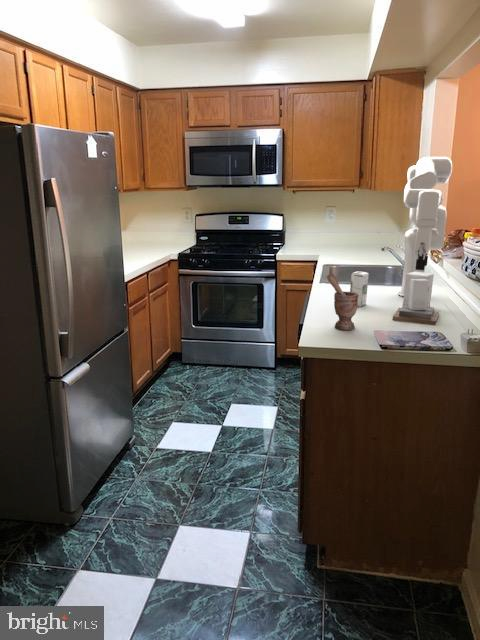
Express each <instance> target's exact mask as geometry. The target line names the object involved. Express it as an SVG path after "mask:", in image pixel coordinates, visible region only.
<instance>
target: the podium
mask: <svg viewBox="0 0 480 640" xmlns="http://www.w3.org/2000/svg"><path fill="white" fill-rule="evenodd" d="M439 316H440V311H435V307H431V306H430V307H426V310H411V309H409V308H408V305H403V304H402V306H401V307H398V308H397V310H396V311H395V313H394V314H393V315H392V321H399V322H405V323H407V322H408V323H415V324H416V323H417V324H425V325H433V326H436V325H437V322H438V319H439Z"/></svg>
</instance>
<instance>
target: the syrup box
mask: <svg viewBox="0 0 480 640" xmlns="http://www.w3.org/2000/svg"><path fill="white" fill-rule="evenodd" d="M350 277H351V278H350V285H349V287H350V288H349V292H354V293H357V294H358V304H357V307H359V308H361V307H364V306H365V305H366V304H367V295H368V285H369V272H366V271H354V272H352V273H351V275H350Z"/></svg>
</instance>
